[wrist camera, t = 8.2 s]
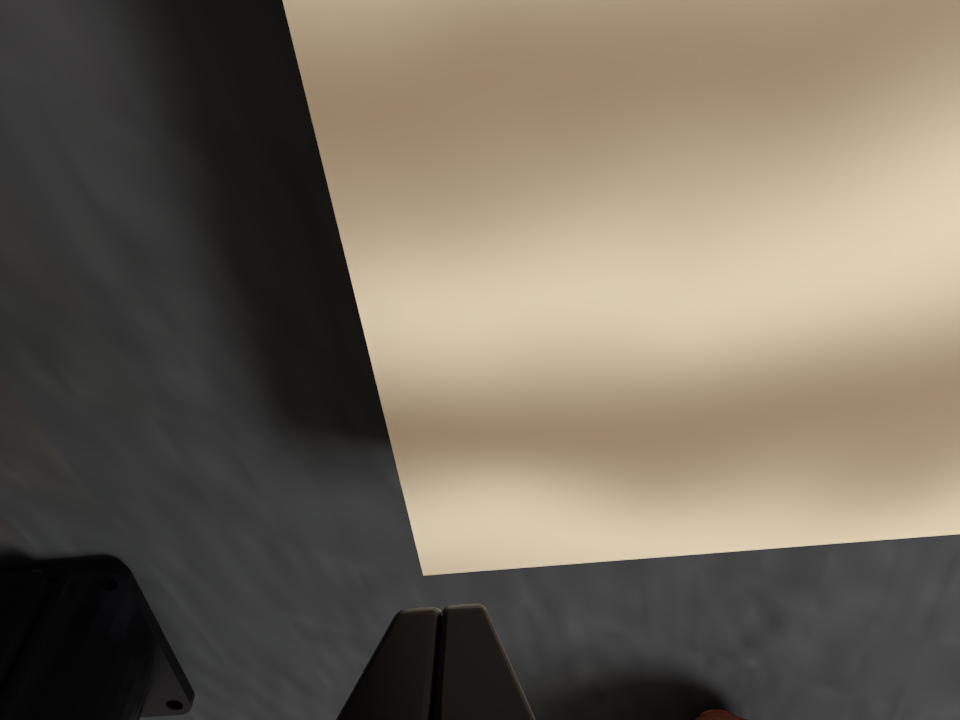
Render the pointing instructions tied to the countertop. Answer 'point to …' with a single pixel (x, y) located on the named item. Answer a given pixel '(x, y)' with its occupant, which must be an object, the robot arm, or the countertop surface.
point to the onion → (717, 715)
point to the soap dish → (650, 267)
